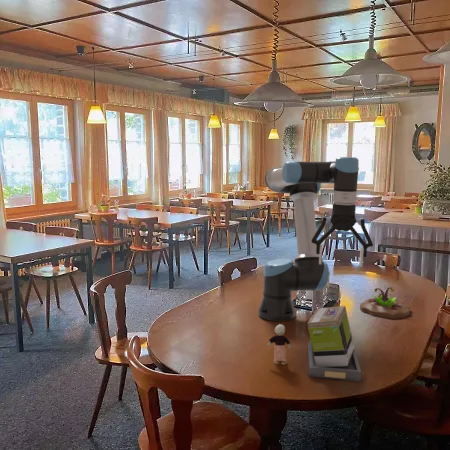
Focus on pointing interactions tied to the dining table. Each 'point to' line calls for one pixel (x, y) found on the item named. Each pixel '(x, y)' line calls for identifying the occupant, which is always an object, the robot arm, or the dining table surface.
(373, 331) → the dining table surface
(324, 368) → the slot tray
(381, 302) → the plant
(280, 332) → the grandmother figurine
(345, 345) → the tea box
